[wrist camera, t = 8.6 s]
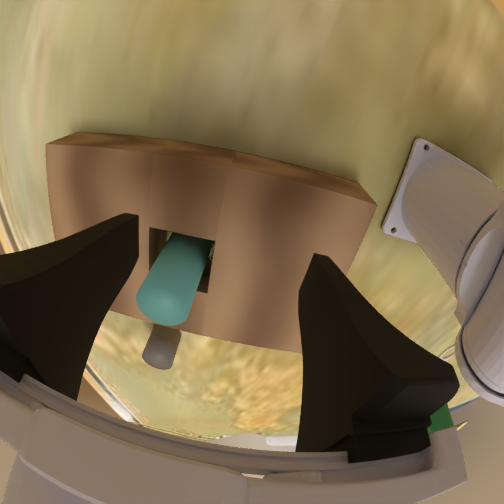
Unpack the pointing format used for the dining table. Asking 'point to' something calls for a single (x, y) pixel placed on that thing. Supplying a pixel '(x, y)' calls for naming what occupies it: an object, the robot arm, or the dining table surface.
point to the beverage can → (440, 420)
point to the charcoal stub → (161, 347)
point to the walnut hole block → (213, 224)
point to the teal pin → (174, 279)
